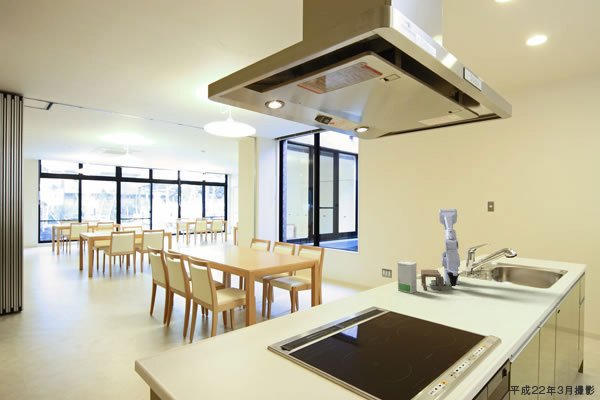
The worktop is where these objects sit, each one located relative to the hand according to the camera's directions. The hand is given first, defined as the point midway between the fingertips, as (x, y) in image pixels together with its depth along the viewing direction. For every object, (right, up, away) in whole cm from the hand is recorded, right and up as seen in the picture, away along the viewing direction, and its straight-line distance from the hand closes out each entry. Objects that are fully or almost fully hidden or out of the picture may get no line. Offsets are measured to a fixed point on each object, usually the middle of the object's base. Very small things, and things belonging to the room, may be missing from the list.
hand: (453, 285), depth 176 cm
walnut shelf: (-11, -2, +3) cm, 12 cm away
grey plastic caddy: (-6, -2, +2) cm, 7 cm away
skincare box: (-26, -3, -1) cm, 26 cm away
